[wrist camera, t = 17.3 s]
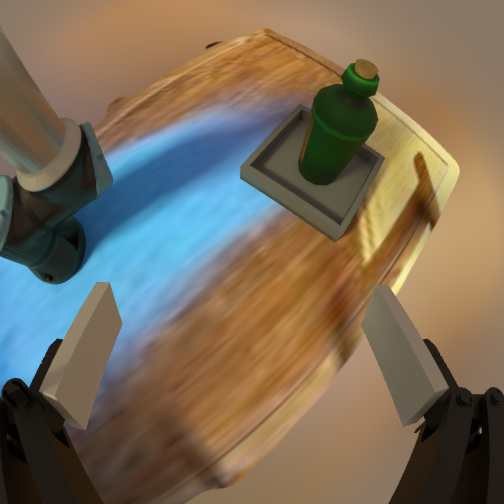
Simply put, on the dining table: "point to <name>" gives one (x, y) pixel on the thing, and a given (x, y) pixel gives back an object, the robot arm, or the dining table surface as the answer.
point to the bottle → (339, 123)
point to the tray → (302, 191)
